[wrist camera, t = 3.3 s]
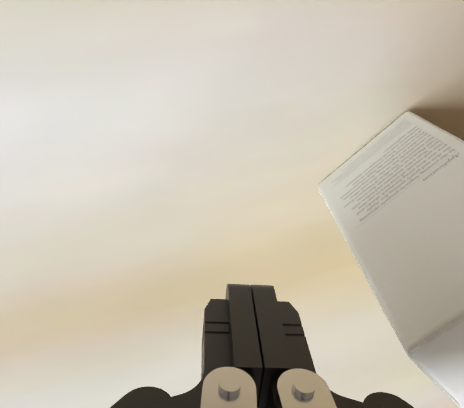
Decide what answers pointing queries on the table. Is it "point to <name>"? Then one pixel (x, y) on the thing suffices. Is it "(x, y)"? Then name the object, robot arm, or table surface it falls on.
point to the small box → (410, 238)
